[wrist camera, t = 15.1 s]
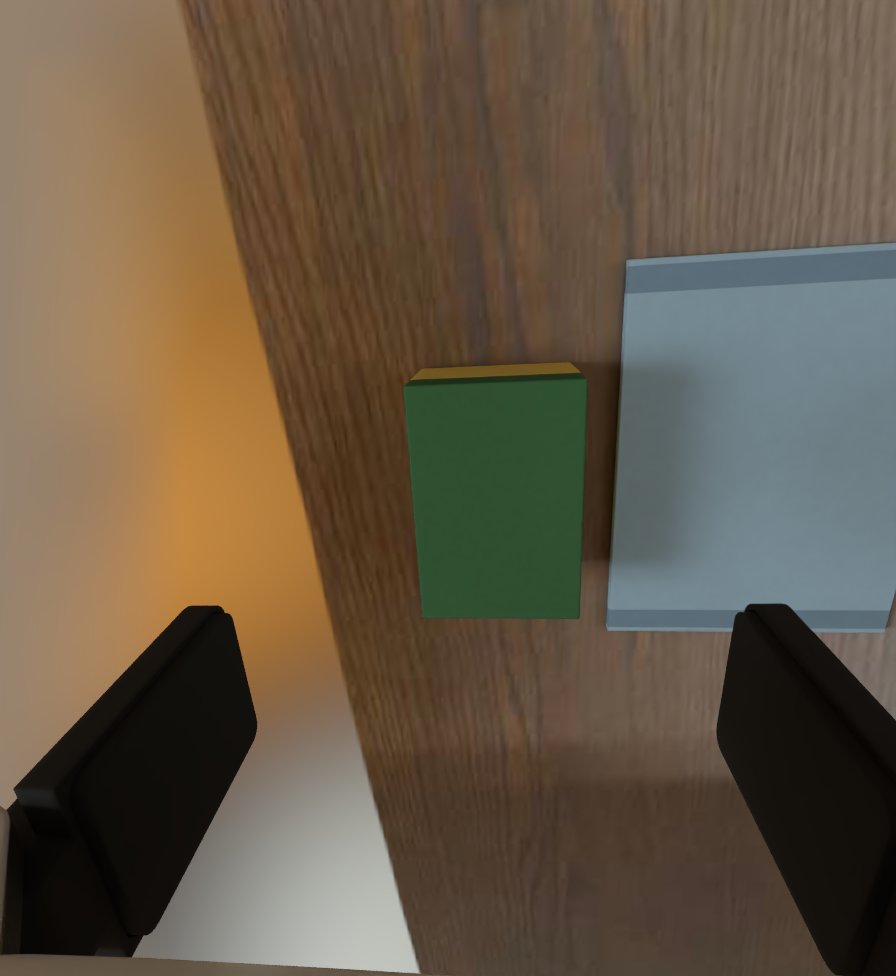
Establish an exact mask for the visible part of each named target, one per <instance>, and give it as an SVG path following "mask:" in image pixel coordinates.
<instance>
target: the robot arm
mask: <svg viewBox="0 0 896 976" xmlns="http://www.w3.org/2000/svg"><path fill="white" fill-rule="evenodd" d="M256 731H257V719H256V714H255V710H254V706H253V702H252V698H251V693H250V689H249V685H248V681H247V677H246V672H245V668H244V664H243V660H242V656H241V651H240V647H239V643H238V640H237V635H236V630H235V626H234V622H233V619H232V617H231V615H230V614H228V613H225V612H224V610H223V609H222V607H220V606H188V607H187V608H185V609H184V610H183V611H182V612H181V613H180V614H179V615H178V616H177V617H176V618H175V619H174V620H173V621H172V622H171V624H170V625H169V626H168V627H167V628H166V629H165V630H164V631H163V632H162V633H161V634H160V635H159V636H158V637H157V638H156V639H155V640H154V641H153V643H152V644H151V645H150V646H149V647H148V648H147V649H146V650H145V651H144V652H143V653H142V654H141V655H140V656H139V657H138V658H137V659H136V660H135V661H134V662H133V664H132V665H131V666H130V667H129V668H128V669H127V670H126V671H125V672H124V673H123V674H122V675H121V676H120V677H119V678H118V679H117V680H116V681H115V682H114V683H113V685H112V686H111V687H110V688H109V689H108V690H107V691H106V692H105V693H104V694H103V695H102V696H101V697H100V698H99V699H98V700H97V701H96V703H94V704H93V706H92V707H91V708H90V709H89V710H88V711H87V712H86V713H85V714H84V715H83V716H82V717H81V718H80V719H79V720H78V721H77V723H75V724H74V726H73V727H72V728H71V729H70V730H69V731H68V732H67V733H66V734H65V735H64V736H63V737H62V738H61V739H60V740H59V741H58V742H57V744H55V746H54V747H53V748H52V749H51V750H50V751H49V752H48V753H47V754H46V755H45V756H44V757H43V758H42V759H41V760H40V762H38V763H37V764H36V765H35V767H34V768H33V769H32V770H31V771H30V772H29V773H28V774H27V775H26V776H25V777H24V778H23V779H22V780H21V781H20V782H19V783H18V784H17V785H16V787H15V788H14V791H15V793H16V796H17V799H16V801H15V802H14V803H13V804H12V805H11V806H10V807H9V808H8V809H7V810H5V809H4V808H2V807H1V806H0V976H448V975H432V974H416V973H399V972H383V971H366V970H350V969H333V968H316V967H298V966H280V965H261V964H243V963H225V962H207V961H189V960H171V959H153V958H132V956H133V954H134V952H135V950H136V948H137V946H138V944H139V943H140V941H141V939H142V937H143V935H148V934H150V933H151V932H152V931H153V930H154V929H155V928H156V926H157V924H158V923H159V921H160V919H161V917H162V915H163V913H164V911H165V910H166V908H167V906H168V904H169V902H170V900H171V898H172V896H173V894H174V892H175V890H176V889H177V887H178V885H179V883H180V881H181V879H182V877H183V875H184V873H185V871H186V869H187V867H188V865H189V864H190V862H191V860H192V858H193V856H194V854H195V852H196V850H197V848H198V846H199V844H200V843H201V841H202V839H203V837H204V835H205V833H206V831H207V829H208V827H209V825H210V824H211V822H212V820H213V818H214V815H215V814H216V812H217V810H218V808H219V806H220V804H221V802H222V800H223V798H224V797H225V795H226V793H227V791H228V789H229V787H230V785H231V783H232V781H233V780H234V777H235V776H236V774H237V772H238V770H239V768H240V766H241V764H242V762H243V760H244V758H245V757H246V754H247V753H248V751H249V749H250V747H251V745H252V743H253V741H254V739H255V735H256ZM716 732H717V740H718V744H719V748H720V750H721V753H722V755H723V757H724V759H725V761H726V763H727V765H728V767H729V769H730V771H731V773H732V775H733V777H734V779H735V781H736V783H737V785H738V787H739V789H740V791H741V793H742V795H743V797H744V799H745V801H746V803H747V805H748V807H749V809H750V811H751V813H752V816H753V818H754V820H755V822H756V824H757V826H758V828H759V830H760V832H761V834H762V836H763V838H764V840H765V842H766V844H767V846H768V848H769V850H770V852H771V854H772V856H773V858H774V860H775V862H776V864H777V866H778V868H779V870H780V872H781V874H782V876H783V878H784V880H785V883H786V885H787V887H788V889H789V891H790V893H791V895H792V897H793V899H794V901H795V903H796V905H797V907H798V909H799V911H800V913H801V915H802V917H803V919H804V921H805V923H806V925H807V927H808V929H809V931H810V933H811V935H812V937H813V939H814V941H815V943H816V945H817V947H818V950H819V952H820V954H821V956H822V958H823V959H824V961H825V963H826V965H827V966H828V968H829V969H830V970H831V971H832V972H833V973H834V974H835V975H842V976H896V720H895V719H894V718H893V717H892V716H891V715H890V714H889V713H888V712H887V711H886V710H885V709H884V707H883V706H882V705H881V704H880V703H879V702H878V701H877V700H876V699H875V698H874V697H873V696H872V695H871V693H870V692H869V691H868V690H867V689H866V688H865V687H864V686H863V685H862V684H861V683H860V682H859V681H858V679H857V678H856V677H855V676H854V675H853V674H852V673H851V672H850V671H849V670H848V669H847V668H846V667H845V666H844V664H843V663H842V662H841V661H840V660H839V659H838V658H837V657H836V656H835V655H834V654H833V653H832V652H831V650H830V649H829V648H828V647H827V646H826V645H825V644H824V643H823V642H822V641H821V640H820V639H819V638H818V636H817V635H816V634H815V633H814V632H813V631H812V630H811V629H810V628H809V627H808V626H807V625H806V624H805V622H804V621H803V620H802V619H801V618H800V617H799V616H798V615H797V614H796V613H795V612H794V611H793V610H792V608H791V607H789V606H788V605H787V604H783V603H771V604H749V605H747V607H746V608H745V611H744V612H738V613H737V614H736V615H735V619H734V624H733V630H732V636H731V643H730V649H729V655H728V661H727V667H726V673H725V679H724V685H723V692H722V698H721V704H720V710H719V716H718V722H717V731H716Z"/></svg>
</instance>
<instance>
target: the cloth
mask: <svg viewBox="0 0 896 976" xmlns="http://www.w3.org/2000/svg"><path fill="white" fill-rule="evenodd" d="M895 591H896V242H895V243H880V244H864V245H848V246H833V247H817V248H801V249H786V250H770V251H755V252H739V253H723V254H708V255H692V256H677V257H661V258H645V259H630V260H627V261H626V278H625V297H624V315H623V332H622V350H621V368H620V386H619V404H618V422H617V440H616V458H615V476H614V494H613V512H612V530H611V548H610V566H609V584H608V601H607V619H606V627H607V630H608V631H720V632H732V630H733V624H734V619H735V615H736V614H737V613H738V612H744V611H745V608H746V607H747V605H749V604H771V603H783V604H787V605H788V606H789V607H791V608H792V610H793V611H794V612H795V613H796V614H797V615H798V616H799V617H800V618H801V619H802V620H803V621H804V622H805V624H806V625H807V626H808V627H809V628H810V629H811V630H812V631H813V632H850V633H884V632H885V628H886V625H887V621H888V618H889V614H890V610H891V606H892V602H893V599H894V595H895Z"/></svg>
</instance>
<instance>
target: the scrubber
mask: <svg viewBox="0 0 896 976" xmlns="http://www.w3.org/2000/svg"><path fill="white" fill-rule="evenodd" d="M403 389H404V401H405V413H406V425H407V436H408V448H409V460H410V472H411V484H412V496H413V508H414V520H415V532H416V544H417V556H418V568H419V580H420V592H421V604H422V616H423V618H520V619H579V617H580V592H581V563H582V535H583V506H584V478H585V449H586V420H587V392H588V380H587V378H586V377H585V376H584V375H583V374H581V372H580V371H579V370H578V369H577V368H576V367H575V366H573V365H572V364H571V363H570V362H559V363H537V364H515V365H492V366H470V367H448V368H425V369H422V370H420V371H419V372H418V373H417V374H416V375H415V376H414V377H413V378H412V379H411V380H410V381H409V382H408V383H407V384H406V385H405V386H404V388H403Z"/></svg>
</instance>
